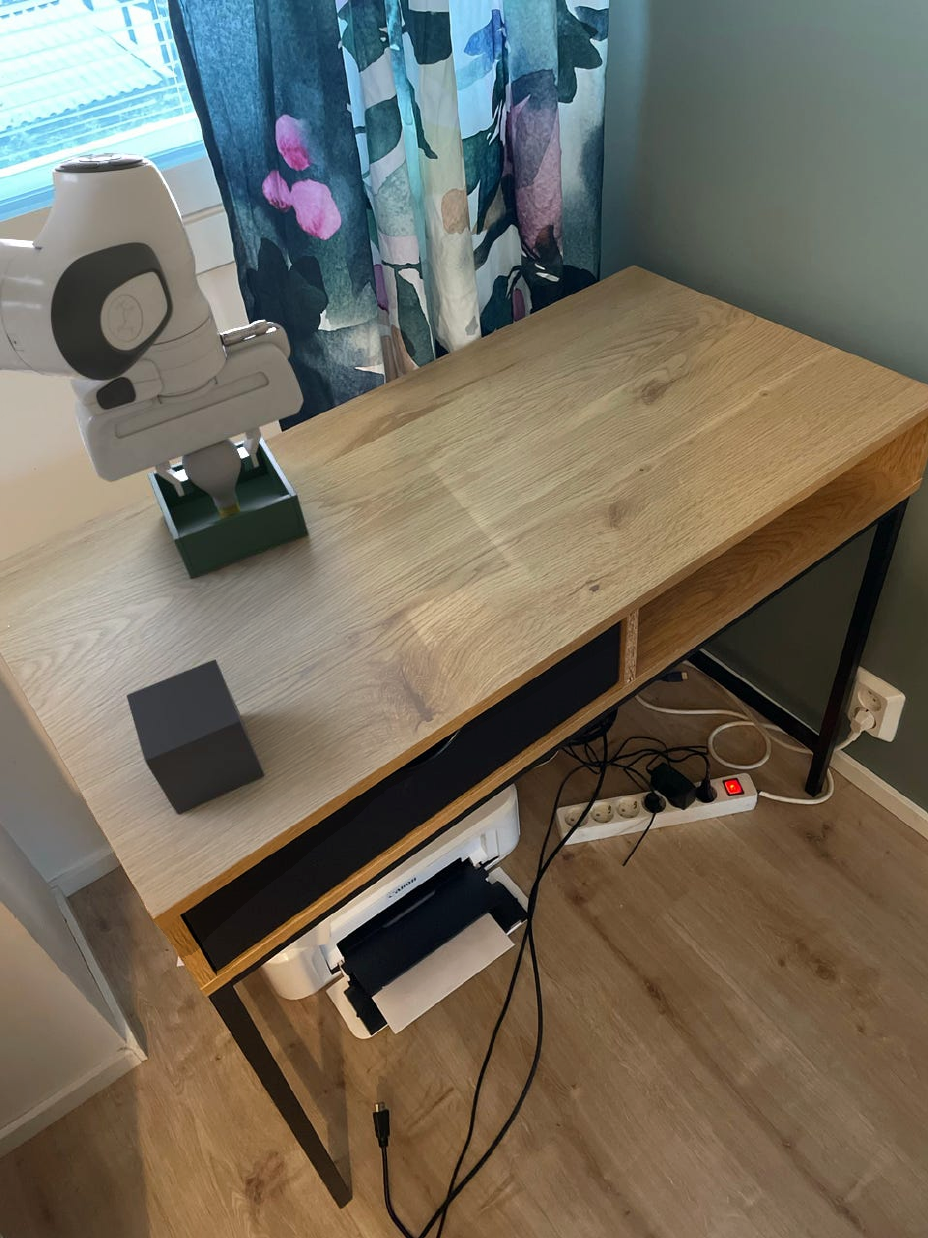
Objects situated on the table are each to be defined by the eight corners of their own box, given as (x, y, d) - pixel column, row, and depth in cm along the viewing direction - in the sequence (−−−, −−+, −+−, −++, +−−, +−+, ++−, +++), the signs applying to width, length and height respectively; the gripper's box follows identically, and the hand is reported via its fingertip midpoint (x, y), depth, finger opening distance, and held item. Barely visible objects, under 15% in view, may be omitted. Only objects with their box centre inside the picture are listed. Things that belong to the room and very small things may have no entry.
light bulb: (265, 501, 93) (238, 419, 86) (250, 536, 89) (221, 453, 82) (215, 502, 94) (184, 421, 87) (199, 536, 90) (165, 454, 83)
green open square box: (190, 579, 87) (173, 540, 83) (163, 511, 95) (146, 473, 91) (308, 534, 90) (297, 494, 86) (272, 472, 98) (260, 434, 94)
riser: (177, 815, 68) (144, 761, 63) (157, 749, 72) (125, 694, 67) (265, 776, 70) (240, 721, 65) (240, 714, 74) (215, 658, 69)
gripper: (269, 300, 83) (302, 427, 93) (49, 374, 77) (109, 500, 87) (293, 326, 79) (326, 456, 89) (63, 406, 73) (125, 534, 83)
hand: (217, 478), depth 88 cm, fingers closed on light bulb, 5 cm apart
